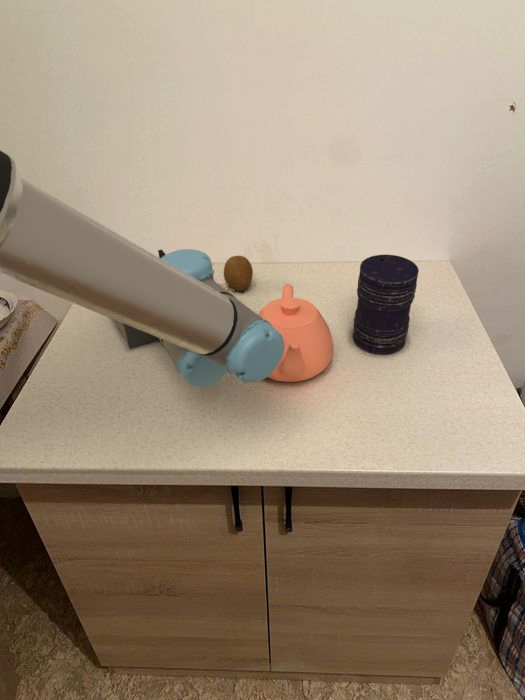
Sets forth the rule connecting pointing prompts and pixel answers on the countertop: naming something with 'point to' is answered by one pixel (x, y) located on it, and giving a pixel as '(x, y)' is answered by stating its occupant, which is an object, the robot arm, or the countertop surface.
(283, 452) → the countertop surface
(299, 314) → the teapot
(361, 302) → the dark blue cylinder
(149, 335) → the dark grey open tray
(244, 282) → the fruit
